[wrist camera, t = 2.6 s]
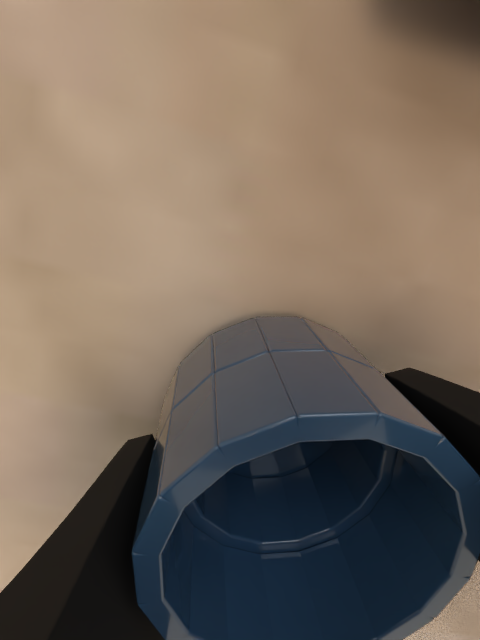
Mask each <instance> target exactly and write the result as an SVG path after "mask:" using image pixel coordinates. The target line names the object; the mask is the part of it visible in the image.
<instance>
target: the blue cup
mask: <svg viewBox="0 0 480 640" xmlns="http://www.w3.org/2000/svg"><path fill="white" fill-rule="evenodd" d="M131 555H132V565H133V574H134V584H135V594H136V602H137V604H138V607H139V608H140V610H141V611H142V612H143V613H144V615H145V616H146V617H147V619H148V620H149V621H150V622H151V624H152V625H153V626H154V628H155V629H156V630H157V631H158V633H159V634H160V635H161V637H162V638H163V639H164V640H403V639H405V638H406V637H408V636H409V635H411V634H412V633H414V632H416V631H417V630H419V629H420V628H422V627H423V626H425V625H426V624H428V623H429V622H431V621H433V619H434V618H436V617H437V616H438V615H439V614H440V613H441V612H442V611H443V609H444V608H445V607H446V606H447V605H448V604H449V603H450V601H451V600H452V599H453V598H454V597H455V596H456V595H457V593H458V592H459V591H460V590H461V589H462V588H463V587H464V585H465V584H466V583H467V582H468V581H469V580H470V576H472V575H473V572H474V570H475V567H476V564H477V561H478V559H479V556H480V476H479V474H478V473H477V472H476V471H475V469H474V468H473V467H472V466H471V465H470V464H469V463H468V462H467V460H466V459H465V458H464V457H463V456H462V455H461V454H460V453H459V451H458V450H457V449H456V448H455V447H454V446H453V445H452V444H451V442H450V441H449V440H448V439H447V438H446V437H445V436H444V435H443V434H442V433H441V432H440V431H439V430H438V429H437V428H436V427H435V426H434V425H433V424H432V423H431V422H430V421H429V420H428V419H427V418H426V417H425V416H424V415H423V414H422V413H421V412H420V411H419V410H418V409H417V408H416V407H415V406H414V405H413V404H412V403H411V402H410V401H409V400H407V399H406V398H405V397H404V396H403V395H402V394H401V393H400V392H399V391H398V390H397V389H396V388H395V387H394V386H393V385H392V384H391V383H390V382H389V381H388V380H387V379H386V378H385V377H384V376H383V375H382V374H381V373H380V372H379V371H378V370H377V369H376V368H375V367H374V366H373V365H372V364H371V363H370V362H369V361H368V360H367V359H366V358H365V357H364V356H362V355H361V354H360V353H359V352H358V351H357V350H356V349H355V348H354V347H353V346H352V345H351V344H350V343H349V342H348V341H347V340H346V339H345V338H344V337H343V336H342V335H340V334H339V333H338V332H336V331H334V330H331V329H329V328H327V327H324V326H322V325H319V324H317V323H315V322H312V321H310V320H307V319H305V318H300V317H256V318H251V319H249V320H246V321H244V322H241V323H239V324H236V325H233V326H231V327H228V328H226V329H223V330H221V331H218V332H215V333H214V334H213V335H210V336H208V337H207V338H206V339H205V340H204V341H203V342H202V343H201V344H200V345H199V346H198V347H197V348H196V349H195V350H193V351H192V352H191V353H190V354H189V355H188V356H187V357H186V358H185V359H184V360H183V361H182V362H181V363H180V366H179V367H178V368H177V370H176V372H175V375H174V377H173V379H172V382H171V384H170V386H169V389H168V391H167V393H166V396H165V398H164V402H163V407H162V411H161V416H160V421H159V426H158V430H157V435H156V440H155V445H154V450H153V454H152V457H151V462H150V467H149V471H148V476H147V481H146V485H145V490H144V495H143V500H142V504H141V509H140V514H139V518H138V523H137V528H136V533H135V537H134V542H133V547H132V552H131Z"/></svg>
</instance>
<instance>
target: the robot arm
mask: <svg viewBox="0 0 480 640" xmlns="http://www.w3.org/2000/svg"><path fill="white" fill-rule="evenodd" d="M385 378H386V379H387V380H388V381H389V382H390V383H391V384H392V385H393V386H394V387H395V388H396V389H397V390H398V391H399V392H400V393H401V394H402V395H403V396H404V397H405V398H406V399H407V400H409V401H410V402H411V403H412V404H413V405H414V406H415V407H416V408H417V409H418V410H419V411H420V412H421V413H422V414H423V415H424V416H425V417H426V418H427V419H428V420H429V421H430V422H431V423H432V424H433V425H434V426H435V427H436V428H437V429H438V430H439V431H440V432H441V433H442V434H443V435H444V436H445V437H446V438H447V439H448V440H449V441H450V442H451V444H452V445H453V446H454V447H455V448H456V449H457V450H458V451H459V453H460V454H461V455H462V456H463V457H464V458H465V459H466V460H467V462H468V463H469V464H470V465H471V466H472V467H473V468H474V469H475V471H476V472H477V473H478V474H479V476H480V393H479V392H476V391H473V390H471V389H468V388H465V387H463V386H460V385H457V384H454V383H452V382H449V381H446V380H444V379H441V378H438V377H435V376H433V375H430V374H427V373H424V372H421V371H418V370H415V369H412V368H406V369H402V370H399V371H395V372H391V373H387V374H385ZM154 445H155V439H154V437H153V434H150V435H146V436H142V437H138V438H134V439H131V440H128V441H127V442H126V443H125V444H124V445H123V447H122V448H121V449H120V450H119V451H118V453H117V454H116V455H115V456H114V458H113V459H112V460H111V462H110V463H109V464H108V465H107V467H106V468H105V469H104V471H103V472H102V473H101V474H100V476H99V477H98V478H97V480H96V481H95V482H94V483H93V485H92V486H91V487H90V488H89V490H88V491H87V492H86V493H85V495H84V496H83V497H82V498H81V500H80V501H79V502H78V503H77V505H76V506H75V507H74V509H73V510H72V511H71V512H70V514H69V515H68V516H67V517H66V518H65V520H64V521H63V522H62V523H61V524H60V525H59V527H58V528H57V529H56V530H55V531H54V532H53V534H52V535H51V536H50V537H49V538H48V539H47V541H46V542H45V543H44V544H43V545H42V547H41V548H40V549H39V550H38V551H37V552H36V554H35V555H34V556H33V557H32V558H31V559H30V561H29V562H28V563H27V564H26V565H25V566H24V568H23V569H22V570H21V571H20V572H19V573H18V574H17V575H16V576H15V578H14V579H13V580H12V581H11V582H10V583H9V584H8V585H7V586H6V587H5V588H4V590H3V591H2V592H1V593H0V640H164V639H163V638H162V637H161V635H160V634H159V633H158V631H157V630H156V629H155V628H154V626H153V625H152V624H151V622H150V621H149V620H148V619H147V617H146V616H145V615H144V613H143V612H142V611H141V610H140V608H139V607H138V604H137V602H136V594H135V584H134V574H133V565H132V555H131V552H132V547H133V542H134V537H135V533H136V528H137V523H138V518H139V514H140V509H141V504H142V500H143V495H144V490H145V485H146V481H147V476H148V471H149V467H150V462H151V457H152V454H153V450H154ZM478 560H479V561H480V556H479V559H478Z"/></svg>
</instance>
